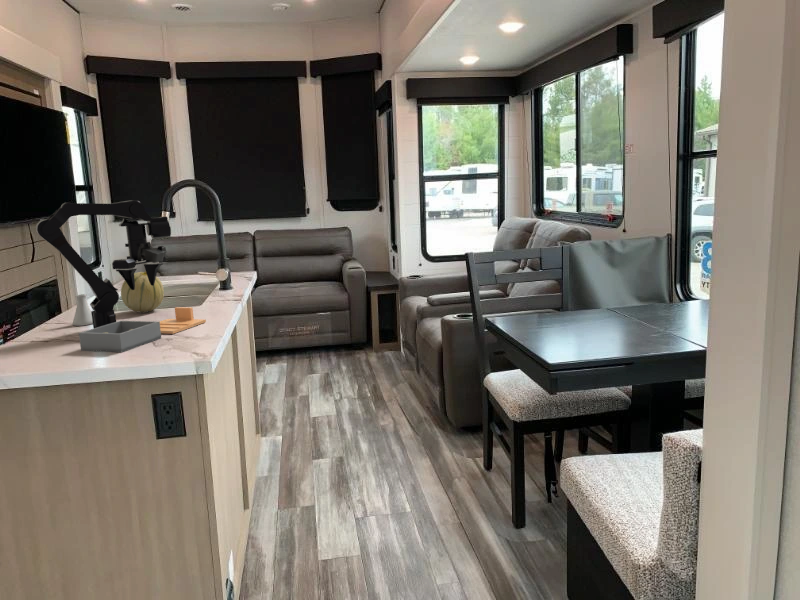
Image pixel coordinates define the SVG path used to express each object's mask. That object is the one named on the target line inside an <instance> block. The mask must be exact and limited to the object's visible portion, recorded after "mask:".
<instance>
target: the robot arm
mask: <svg viewBox="0 0 800 600" xmlns="http://www.w3.org/2000/svg"><path fill="white" fill-rule="evenodd" d="M72 216H116V217H121V218H122V221H120V223H119V224H118V226H119V227H125V230H126V238H127V239H126V240H127V243H124V245H125V246H124V247H125V248H128V254H129V255H128V256H127V255H126V258H119V259H113V260H112V262H111V266H112V270H115V271H116V272H118V273H119V275H120V276H121V277H122V279H123V280H124V281H126V283H127V284H128V286H129V287H130V289H131V290H135V279H134V273H136V271H137V269H138V268H136V266H138V265H141V264H143V266H144V270H145V272H146V273H147V276H148V279H149V282H150V284H151V285H154V284H155V279H156V277H157V275H158V271H159V269H160V267H162V266H163V265H164V263H165V262H167V260H166V256H168V255H167V249H166V246H163V245H159V246H157V247H154V246H152V243H151V242H150V241H148V238H147V236H150V237H151V239H162V238H170V237H171V235H172V229H171V228H172V227H171V226H170V222H169V220H168V218H169V217H168V216H160V217H152V216H150V214H148V213H147V211H145V206H144V204H143V203H142V202H141V201H139V200H136V199H135V200H132V199H131V200H125V201H119V202H113V203H88V202H87V203H83V202H82V203H81V202H80V203H77V202H64V203H62V204H61V206H60V207H59V208H58V209H56V210H55V211H54V212H53V213H52V214H51V215H50V216H48V218H46V219H41V220H40V221H38V222H37V223H36V225H35V231H36V233H37V235H38V236H39V237H41V238H42V239H43V240H44V241H46V243H49V244H50V246H52V247H53V248H55V249H56V250H57V251H58V253H60V255H61V256H63V258H64V259H65V260H66V261H67V262H68V263H69V264H70V266H72V268H73V269H74V270H75V271H76V272H77V274H79V275H80V276H81V278H82V279H83V280H84V281H85V282H86V283H87V284H88V286H89V287H90V290H91V291H92V293H93V294H94V296H95V298H94V299H93V300H92V301H91V302H90V304H89V305H90V306H89V307H91V309H92V310H91V314H92V321H93V324H92V329H94V328H97V327H101V326H104V325H107V324H111V323H114V322H117V316H116V313H115V309H114V307H115V305H116V304H117V303H118V302H119V299H120V295H119V293H118V291H119V289H118V288H117V287H115V286H114V285H113V284H112V282H111V280H110V279H108V278H107V277H106V278H105V279H104V280H103V278H100V277H99V276H98V275H97V273H96V272H95V271H94V270H93V269H92V268H91V266H90V265H89V264H87V261H85V260H84V259H83V257H82V256H81V255H80V254H78V252H77V251H76V250H75V249H74V248H73V246H72V245H71V244H70V242H68V240H67V238H66V235H64V233H63V231H62V230H61V227H62V226H63V225H64V224H65V223H67V221H68V220H69V219H70V218H71V217H72ZM126 218H127V219H134V220H127V219H126ZM135 219H137V220H135ZM138 220H139V221H141V222H138Z"/></svg>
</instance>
